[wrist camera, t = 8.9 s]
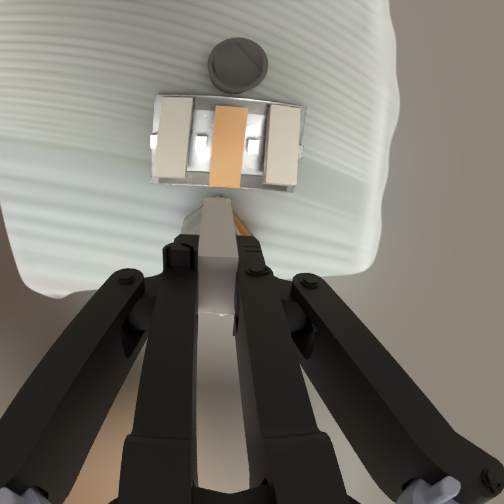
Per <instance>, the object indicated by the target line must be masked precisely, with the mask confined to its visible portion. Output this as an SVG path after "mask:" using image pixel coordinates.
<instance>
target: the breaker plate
mask: <svg viewBox="0 0 504 504" xmlns="http://www.w3.org/2000/svg"><path fill="white" fill-rule="evenodd" d="M162 97H185V98H193V103H194V105H193V113H192V122H191V131H190V141H189V152H188V163H187V175H186V179H178V178H156V177H154V176H153V174H154V163H155V152H156V143H157V134H158V125H159V118H160V110H161V103H162ZM271 104H273V105H281V106H288V107H294V108H300V130H299V150H298V160H299V159H302V153H303V147H304V146H303V145H301V140H302V134H303V127H304V120H305V113H306V107H304V106H298V105H292V104H285V103H278V102H270V101H262V100H253V99H244V98H233V97H219V96H202V95H155V103H154V117H153V134H151V138H150V148H152V167H151V184H169V185H194V186H209V178H210V165H211V152H212V140H213V129H214V119H215V108H216V105H218V106H231V107H243V108H248V115H247V124H246V133H245V142H244V151H243V160H242V170H241V179H240V188H244V189H257V190H269V191H281V192H292V193H293V192H294V186H283V185H272V184H263V171H264V156H265V140H266V125H267V110H268V108H269V106H270V105H271Z"/></svg>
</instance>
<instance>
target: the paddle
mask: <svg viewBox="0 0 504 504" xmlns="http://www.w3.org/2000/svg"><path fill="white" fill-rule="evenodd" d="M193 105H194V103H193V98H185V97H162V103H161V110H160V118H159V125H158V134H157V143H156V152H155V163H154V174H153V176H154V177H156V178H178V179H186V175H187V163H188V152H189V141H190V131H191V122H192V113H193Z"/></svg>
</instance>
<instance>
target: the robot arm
mask: <svg viewBox="0 0 504 504" xmlns="http://www.w3.org/2000/svg"><path fill="white" fill-rule="evenodd" d="M162 250H163V272H162V273H161V274H159V275H156V276H152V277H146V278H144V276H143V273H142V272H140V271H139V270H136V269H131V268H126V269H121V270H118V271H116V272H114V273H113V274H112V275H111V276H110V277H109V278H108V279H107V280H106V282H105V283H104V284H103V285H102V286H101V287H100V288H99V289H98V291H97V292H96V293H95V294H94V295H93V296H92V298H91V299H90V300H89V301H88V302H87V303H86V305H85V306H84V307H83V308H82V309H81V311H80V312H79V313H78V314H77V315H76V317H75V318H74V319H73V320H72V322H71V323H70V324H69V325H68V326H67V328H66V329H65V330H64V331H63V333H62V334H61V335H60V337H59V338H58V339H57V340H56V342H55V343H54V344H53V345H52V347H51V348H50V349H49V351H48V352H47V353H46V355H45V356H44V357H43V359H42V360H41V361H40V363H39V364H38V365H37V367H36V368H35V369H34V371H33V372H32V373H31V375H30V376H29V378H28V379H27V380H26V382H25V383H24V385H23V386H22V388H21V389H20V390H19V392H18V394H17V395H16V397H15V398H14V399H13V401H12V402H11V404H10V405H9V407H8V408H7V410H6V411H5V413H4V415H3V416H2V418H1V419H0V504H63V502H64V501H65V499H66V497H67V496H68V495H69V493H70V491H71V489H72V487H73V485H74V483H75V481H76V479H77V477H78V475H79V473H80V470H81V468H82V466H83V464H84V462H85V460H86V457H87V455H88V453H89V451H90V449H91V447H92V445H93V443H94V440H95V438H96V436H97V434H98V432H99V430H100V428H101V426H102V424H103V422H104V420H105V418H106V416H107V414H108V412H109V410H110V408H111V406H112V404H113V402H114V400H115V398H116V396H117V394H118V392H119V390H120V388H121V387H122V385H123V383H124V381H125V379H126V377H127V375H128V373H129V371H130V369H131V367H132V366H133V364H134V362H135V360H136V358H137V356H138V354H139V353H140V351H141V349H142V347H143V345H144V343H145V341H146V340H147V345H146V350H145V356H144V361H143V366H142V371H141V378H140V383H139V389H138V396H137V402H136V409H135V417H134V423H133V430H132V432H131V434H129V435H127V437H126V439H125V441H124V446H123V453H122V462H121V471H120V481H119V493H118V498H116V499H114V500H113V501H111V502H110V503H109V504H360V503H359V502H357V501H356V500H354V499H353V498H352V497H350V496H348V495H347V493H346V489H345V486H344V482H343V479H342V475H341V472H340V468H339V465H338V462H337V458H336V455H335V451H334V448H333V444H332V442H331V440H330V437H329V436H328V435H327V433H325V432H322V431H320V430H319V429H318V427H317V424H316V421H315V417H314V413H313V410H312V406H311V403H310V399H309V395H308V392H307V389H306V385H305V381H304V378H303V375H302V371H301V367H300V365H301V366H302V368H303V370H304V371H305V373H306V374H307V376H308V378H309V379H310V381H311V382H312V384H313V386H314V387H315V389H316V391H317V392H318V394H319V395H320V397H321V399H322V400H323V402H324V403H325V405H326V406H327V408H328V410H329V411H330V413H331V414H332V416H333V418H334V419H335V421H336V422H337V424H338V425H339V427H340V429H341V430H342V432H343V433H344V435H345V437H346V438H347V440H348V441H349V443H350V444H351V446H352V447H353V449H354V451H355V452H356V454H357V455H358V457H359V459H360V460H361V462H362V463H363V465H364V466H365V468H366V469H367V471H368V472H369V474H370V476H371V477H372V478H373V480H374V481H375V483H376V484H377V485H378V486H379V488H380V489H381V490H382V491H383V492H384V493H385V494H386V495H387V496H388V497H389V498H390V499H391V500H392V501H393V502H395V503H396V504H484V503H486V502H487V501H489V500H491V499H493V498H494V497H496V496H497V495H498V494H500V493H501V492H502V490H503V488H504V467H503V465H502V464H501V463H500V462H499V461H498V460H497V459H496V458H494V457H492V456H491V455H489V454H488V453H486V452H485V451H483V450H482V449H480V448H479V447H477V446H476V445H474V444H473V443H471V442H470V441H468V440H467V439H465V438H464V437H462V436H461V435H459V434H458V433H456V432H455V431H454V430H453V429H452V427H451V426H450V425H449V424H448V422H447V421H446V420H445V419H444V418H443V416H442V415H441V414H440V413H439V411H438V410H437V409H436V408H435V407H434V405H433V404H432V403H431V402H430V400H429V399H428V398H427V397H426V396H425V394H424V393H423V392H422V391H421V390H420V389H419V387H418V386H417V385H416V384H415V383H414V381H413V380H412V379H411V378H410V377H409V375H408V374H407V373H406V372H405V371H404V370H403V368H402V367H401V366H400V365H399V364H398V363H397V361H396V360H395V359H394V358H393V357H392V356H391V354H390V353H389V352H388V351H387V350H386V349H385V348H384V347H383V345H382V344H381V343H380V342H379V341H378V340H377V339H376V337H375V336H374V335H373V334H372V333H371V332H370V330H368V328H367V327H366V326H365V325H364V324H363V323H362V322H361V320H360V319H359V318H358V317H357V316H356V315H355V314H354V313H353V311H352V310H351V309H350V308H349V307H348V306H347V305H346V304H345V303H344V302H343V300H342V299H341V298H340V297H339V296H338V295H337V294H336V293H335V292H334V291H333V290H332V288H331V287H330V286H329V285H328V284H327V283H326V282H325V281H324V280H323V279H322V278H321V277H319V276H317V275H315V274H310V273H300V274H296V275H295V276H294V277H293V281H287V280H283V279H279V278H277V277H275V276H274V275H273V272H272V270H271V269H270V268H269V267H268V266H266V264H265V261H264V257H263V254H262V250H261V246H260V243H259V241H258V240H257V239H256V238H255V237H254V236H240V235H235V227H234V220H233V213H232V205H231V198H213V197H204V200H203V209H202V218H201V227H200V235H194V234H180V235H178V236H177V237H176V238H175V239H174V243H170V244H168V245H166V246H165V247H164V248H163V249H162ZM234 310H235V315H234V328H233V336H235V339H236V351H237V361H238V370H239V381H240V391H241V400H242V410H243V419H244V428H245V437H246V445H247V453H248V462H249V472H250V479H249V480H250V481H249V482H250V483H249V486H250V489H248V490H245V491H241V492H237V493H232V494H228V493H222V492H217V491H213V490H208V489H204V488H200V487H198V475H197V438H196V437H197V436H196V380H197V379H196V377H197V375H196V374H197V336H198V313H200V314H234ZM147 338H148V339H147ZM299 363H300V364H299Z"/></svg>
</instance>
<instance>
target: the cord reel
mask: <svg viewBox="0 0 504 504" xmlns="http://www.w3.org/2000/svg"><path fill="white" fill-rule="evenodd" d="M267 69H268V60H267V56H266V54H265V52H264V50H263V49H262V48H261V47H260V46H259V45H258V44H257V43H255V42H253V41H251V40H249V39H245V38H231V39H227V40H225V41H223V42H221V43H219V44H218V45H217V46H216V47H215V48H214V49H213V51H212V52H211V54H210V56H209V60H208V70H209V74H210V77H211V80H212V82H213V84H214V85H215V86H216V87H217V88H218V89H219V90H221V91H223V92H225V93H229V94H238V93H242V92H244V91H247V90H250V89H252V88H254V87H256V86H257V85H258V84H259V83H260V82H261V81H262V80H263V79H264V77H265V75H266V73H267Z"/></svg>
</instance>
